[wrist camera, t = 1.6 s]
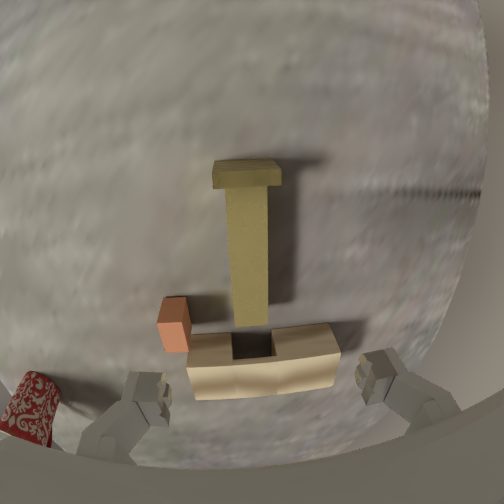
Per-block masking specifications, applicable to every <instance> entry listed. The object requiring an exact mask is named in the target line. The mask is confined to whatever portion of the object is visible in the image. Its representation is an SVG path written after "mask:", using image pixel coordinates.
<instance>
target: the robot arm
mask: <svg viewBox="0 0 504 504" xmlns="http://www.w3.org/2000/svg"><path fill="white" fill-rule="evenodd" d="M359 362H360V364H359V365H358V366H357V367H356V371H355V379H356V383H357V385H358V387H359V388H361V389H362V390H363V392H362V394H361V395H362V397H363V399H364V402H365V404H366V406H368V405H372V404H376V403H381V402H383V403H384V404H386V405H387V406H388V407H389V408H391V409H392V410H393V411H395V412H396V413H397V414H399V415H400V416H401V417H403V418H404V419H405V420H406V421H408V422H409V423H410V424H411V425H410V426H409V428H408V429H407V431H406V433H405V435H404V436H401V437H398V438H395V439H392V440H389V441H386V442H383V443H380V444H377V445H373V446H369V447H366V448H362V449H358V450H355V451H351V452H347V453H342V454H338V455H333V456H329V457H324V458H319V459H314V460H308V461H302V462H296V463H289V464H281V465H273V466H264V467H253V468H238V469H172V468H157V467H146V466H137V464H136V463H135V462H134V461H133V459H132V458H131V457H130V456H129V455H128V453H129V452H130V451H131V450H132V449H133V447H134V446H135V445H136V444H137V442H138V441H139V440H140V439H141V437H142V436H143V435H144V434H145V433H146V431H147V430H148V429H149V428H150V427H149V426H165V427H169V420H170V412H169V410H168V408H169V407H170V406H171V403H172V393H171V388H170V385H169V384H167V383H166V381H167V377H166V375H165V373H157V372H133V371H130V372H129V373H128V376H127V379H126V383H125V386H124V390H123V393H122V397H121V401H117V402H115V403H114V404H113V405H112V406H111V407H110V408H109V409H108V410H106V411H105V412H104V413H103V414H102V415H101V416H100V417H98V418H97V419H96V420H95V421H94V422H93V423H92V424H90V425H89V426H88V427H87V428H86V429H85V430H84V431H83V432H82V435H81V439H80V442H79V446H78V449H77V453H76V455H74V454H70V453H66V452H62V451H59V450H55V449H51V448H48V447H45V446H42V445H38V444H35V443H32V442H29V441H26V440H24V439H21V438H18V437H15V436H9V437H7V438H5V439H3V440H1V441H0V504H504V388H503V389H502V390H500V391H498V392H497V393H495V394H493V395H492V396H490V397H488V398H487V399H484V400H483V401H481V402H479V403H477V404H475V405H473V406H471V407H469V408H467V409H465V410H463V411H461V409H460V408H459V406H458V405H457V403H456V401H455V400H454V398H453V396H452V395H451V393H450V392H448V391H446V390H445V389H443V388H441V387H439V386H437V385H435V384H433V383H431V382H430V381H428V380H426V379H424V378H422V377H420V376H418V375H417V374H415V373H413V372H408V370H407V369H406V367H405V366H404V364H403V362H402V361H401V359H400V357H399V356H398V354H397V353H396V351H395V349H394V348H392V347H391V348H387V349H382V350H377V351H373V352H368V353H363V354H361V355H360V357H359Z"/></svg>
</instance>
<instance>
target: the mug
mask: <svg viewBox="0 0 504 504" xmlns="http://www.w3.org/2000/svg"><path fill="white" fill-rule="evenodd" d="M60 397H61V393H60V391H59V389H58V388H57V386H56V385H55V384H54V383H53V382H52V381H50V380H49V379H48V378H46V377H45V376H43V375H41V374H39V373H36V372H32V371H30V372H27V373H26V374H25V376H24V378H23V379H22V381H21V383H20V385H19V386H18V388H17V390H16V392H15V393H14V395H13V397H12V399H11V400H10V402H9V404H8V406H7V408H6V410H5V411H4V413H3V415H2V418H1V419H0V440H3V439H5V438H7V437H9V436H15V437H18V438H21V439H24V440H26V441H29V442H32V443H35V444H38V445H42V446H45V447H48V448H51V443H52V423H53V420H54V416H55V413H56V409H57V406H58V403H59V400H60Z"/></svg>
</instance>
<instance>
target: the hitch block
mask: <svg viewBox="0 0 504 504" xmlns="http://www.w3.org/2000/svg"><path fill="white" fill-rule="evenodd" d="M340 356H341V351H340V348H339V346H338V344H337V342H336V339H335V337H334V335H333V332H332V330H331V328H330V326H329V323H322V324H314V325H306V326H297V327H288V328H279V329H272V344H271V357H261V358H250V359H237V360H234V355H233V347H232V338H231V333H218V334H201V335H191V338H190V348H189V352H188V356H187V366H186V368H187V372H188V375H189V378H190V382H191V385H192V388H193V391H194V395H195V398H196V400H214V399H233V398H247V397H258V396H268V395H277V394H285V393H293V392H300V391H307V390H313V389H319V388H325V387H330V386H333V383H334V380H335V376H336V372H337V368H338V364H339V360H340Z"/></svg>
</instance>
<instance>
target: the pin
mask: <svg viewBox="0 0 504 504" xmlns="http://www.w3.org/2000/svg"><path fill="white" fill-rule="evenodd" d="M212 180H213V189H224V188H225V198H226V214H227V229H228V243H229V257H230V270H231V283H232V295H233V307H234V319H235V327H247V326H259V325H268V206H267V186H281V168H280V167H279V166H278V165H277V164H276V163H275V162H274V161H273V160H272V159H245V160H227V161H214V165H213V170H212Z"/></svg>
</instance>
